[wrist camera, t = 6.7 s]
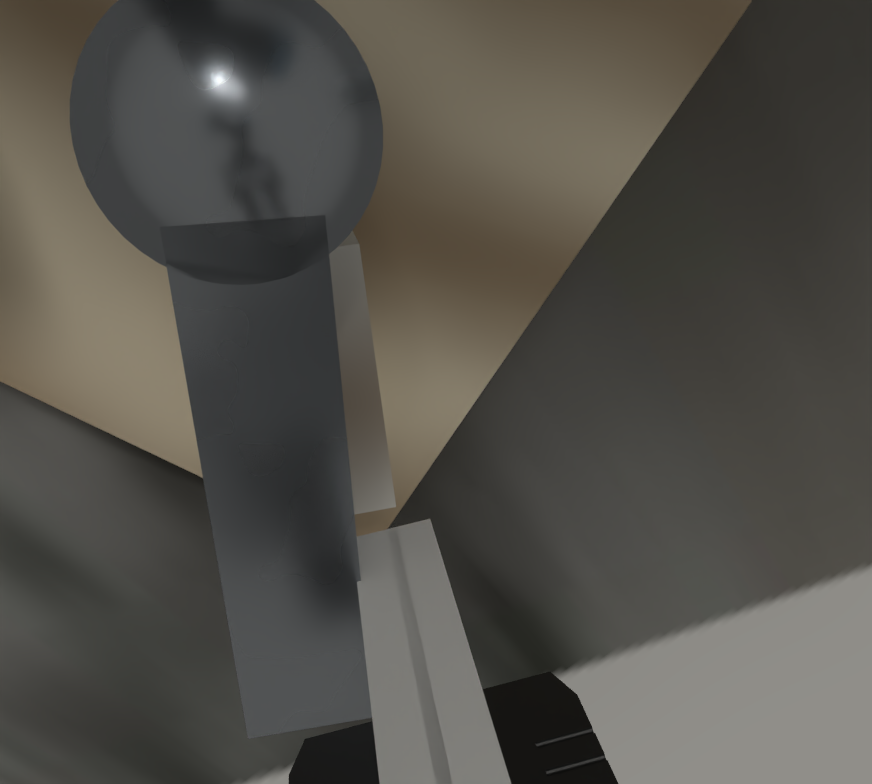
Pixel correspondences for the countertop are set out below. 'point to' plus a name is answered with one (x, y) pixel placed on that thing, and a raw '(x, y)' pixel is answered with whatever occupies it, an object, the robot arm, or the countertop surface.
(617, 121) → the lock plate
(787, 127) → the countertop surface
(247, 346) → the swing bar
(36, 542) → the countertop surface
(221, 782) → the countertop surface
